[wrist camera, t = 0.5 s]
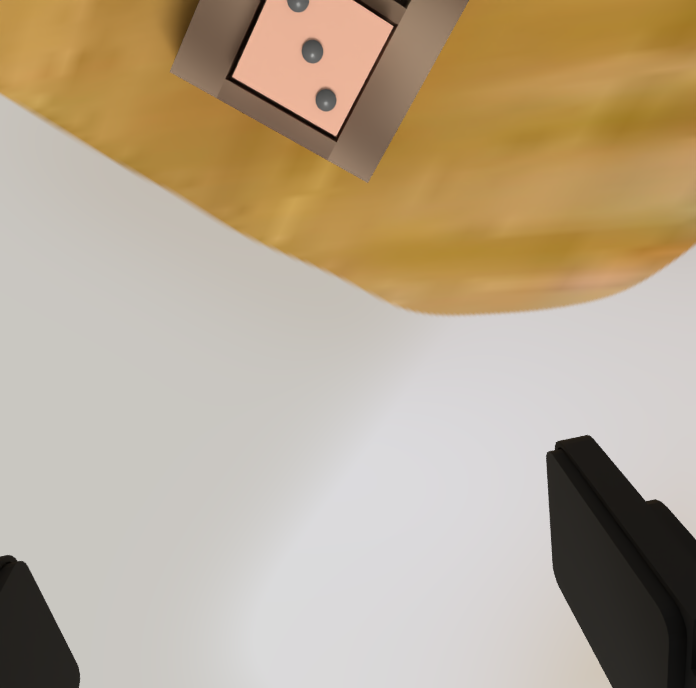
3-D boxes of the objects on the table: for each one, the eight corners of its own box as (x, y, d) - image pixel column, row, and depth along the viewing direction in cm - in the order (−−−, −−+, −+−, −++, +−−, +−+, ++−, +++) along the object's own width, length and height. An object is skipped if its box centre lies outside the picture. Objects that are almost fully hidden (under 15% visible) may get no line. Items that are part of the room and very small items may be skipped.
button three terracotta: (286, -35, 27) (286, -44, 25) (385, 28, 29) (393, 26, 26) (236, 75, 29) (231, 77, 27) (332, 130, 30) (336, 136, 28)
